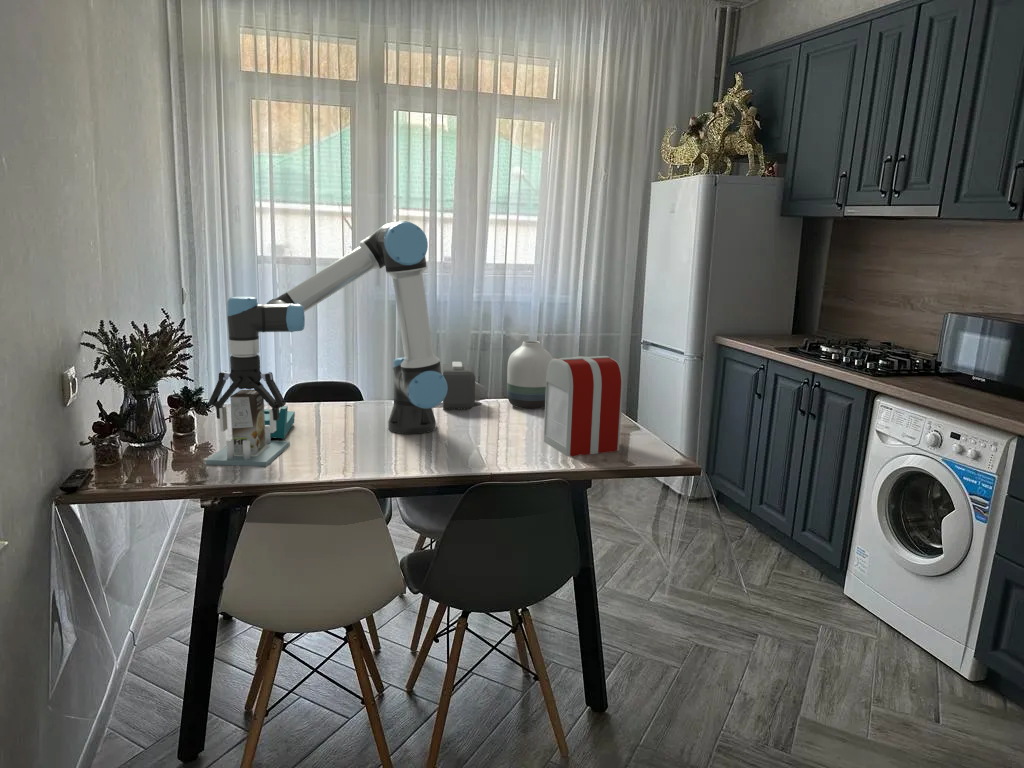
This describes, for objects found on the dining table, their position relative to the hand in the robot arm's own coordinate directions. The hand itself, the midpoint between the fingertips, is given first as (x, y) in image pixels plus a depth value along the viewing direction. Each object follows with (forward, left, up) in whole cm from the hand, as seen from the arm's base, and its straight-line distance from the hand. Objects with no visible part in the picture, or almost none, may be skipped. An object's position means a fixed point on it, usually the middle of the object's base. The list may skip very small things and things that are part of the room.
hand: (248, 431), depth 192 cm
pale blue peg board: (0, 0, -7) cm, 7 cm away
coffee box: (0, 0, -6) cm, 6 cm away
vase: (-78, -66, -7) cm, 102 cm away
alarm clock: (-52, -64, -7) cm, 83 cm away
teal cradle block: (+2, -22, -7) cm, 23 cm away
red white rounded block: (-93, -18, -7) cm, 95 cm away
